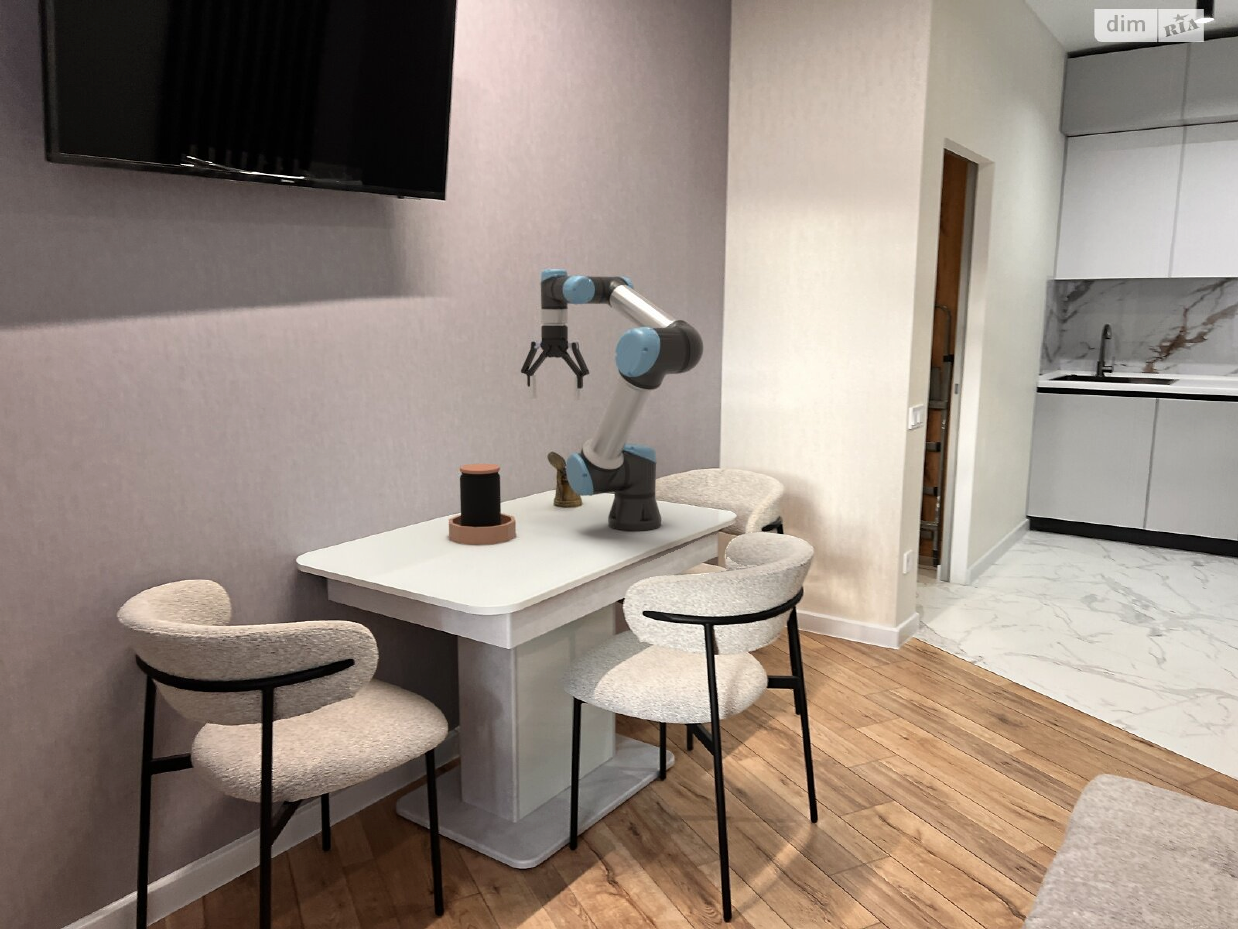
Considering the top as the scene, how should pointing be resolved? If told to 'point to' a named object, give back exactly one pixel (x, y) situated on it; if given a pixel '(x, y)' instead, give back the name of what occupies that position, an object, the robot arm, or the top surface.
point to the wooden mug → (563, 484)
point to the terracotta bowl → (482, 531)
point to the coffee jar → (480, 495)
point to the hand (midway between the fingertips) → (555, 399)
